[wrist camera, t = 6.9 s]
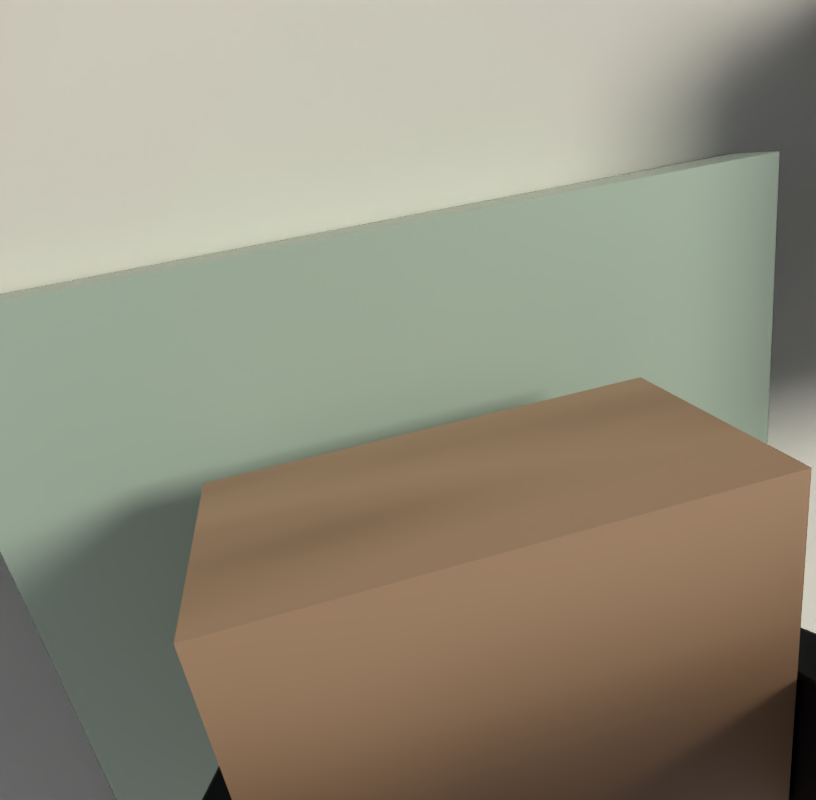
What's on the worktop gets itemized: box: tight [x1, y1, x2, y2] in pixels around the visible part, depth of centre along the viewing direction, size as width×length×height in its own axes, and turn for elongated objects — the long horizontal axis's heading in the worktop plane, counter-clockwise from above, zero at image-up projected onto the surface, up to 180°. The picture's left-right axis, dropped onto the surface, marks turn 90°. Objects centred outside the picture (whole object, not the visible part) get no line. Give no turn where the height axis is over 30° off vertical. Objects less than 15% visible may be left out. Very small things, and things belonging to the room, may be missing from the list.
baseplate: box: [0, 151, 780, 800], centre depth 11 cm, size 12×12×1 cm
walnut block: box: [174, 377, 811, 800], centre depth 8 cm, size 7×6×3 cm
